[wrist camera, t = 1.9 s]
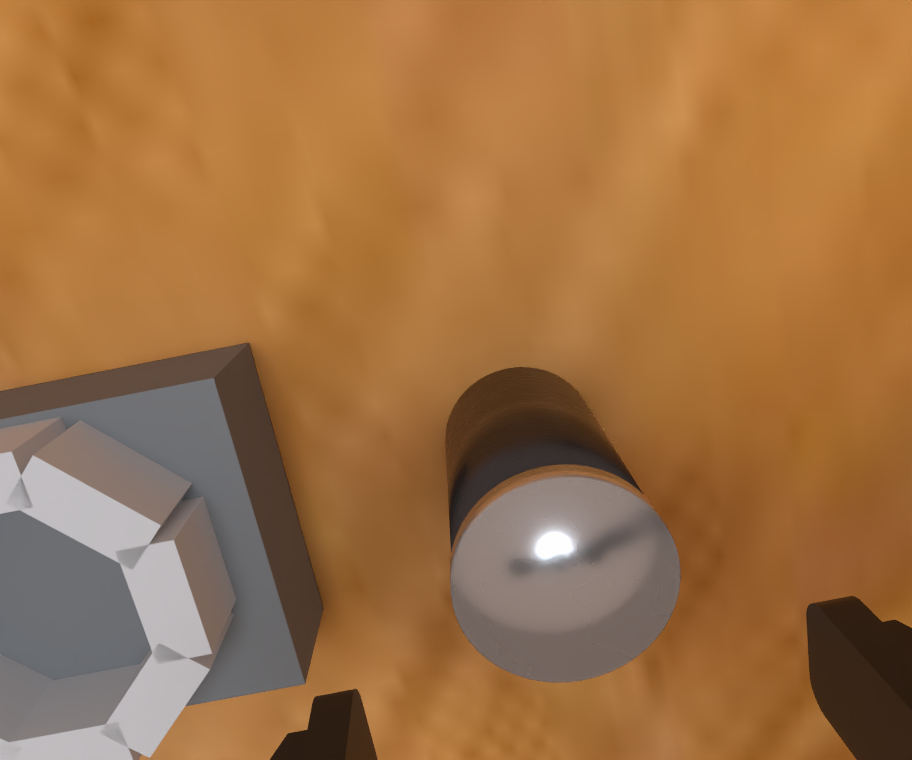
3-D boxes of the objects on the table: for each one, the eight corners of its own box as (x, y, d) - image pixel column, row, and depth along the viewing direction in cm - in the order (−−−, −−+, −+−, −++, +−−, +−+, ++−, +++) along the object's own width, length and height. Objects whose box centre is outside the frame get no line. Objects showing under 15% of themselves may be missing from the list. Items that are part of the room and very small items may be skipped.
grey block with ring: (248, 342, 24) (183, 407, 18) (323, 608, 27) (290, 745, 20) (-113, 413, 24) (-303, 501, 18) (0, 668, 27) (-131, 822, 21)
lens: (583, 352, 24) (667, 459, 16) (603, 492, 26) (691, 660, 17) (430, 382, 24) (430, 503, 16) (459, 519, 26) (473, 700, 17)
